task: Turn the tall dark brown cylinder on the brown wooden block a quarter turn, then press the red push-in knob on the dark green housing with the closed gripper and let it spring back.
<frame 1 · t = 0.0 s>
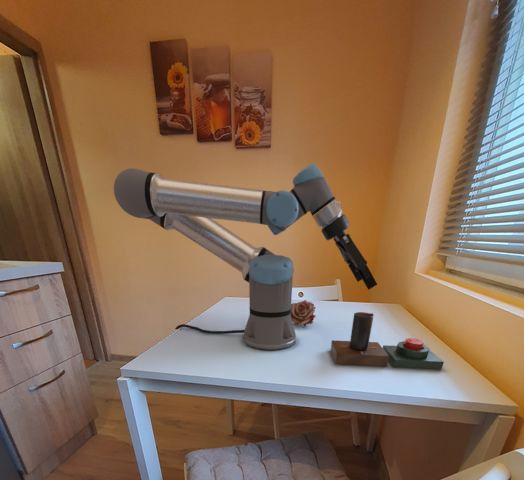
hand: (366, 283, 86), 15 cm above the table, tool tilted 35°, fingers open, 13 cm apart
flower: (301, 325, 96), on the table
dark brown cylinder: (361, 330, 68), point 7 cm above the table, hinge at 0.0°
brown wooden block: (356, 358, 71), on the table
housing: (409, 361, 70), on the table
button: (413, 344, 68), point 4 cm above the table, slide at 0.1 cm
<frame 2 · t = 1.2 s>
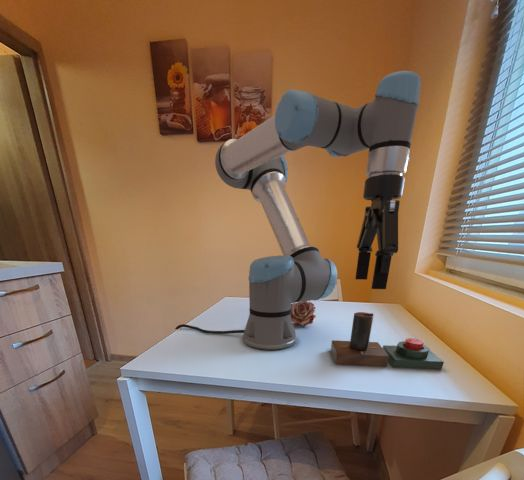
hand: (368, 283, 64), 19 cm above the table, tool pointing down, fingers open, 13 cm apart
nothing on the table moved.
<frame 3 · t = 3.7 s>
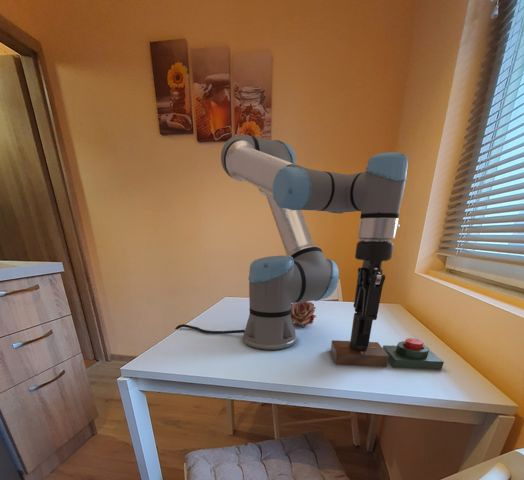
hand: (359, 341, 69), 5 cm above the table, tool pointing down, fingers closed on dark brown cylinder, 4 cm apart
dark brown cylinder: (361, 330, 68), point 7 cm above the table, hinge at 0.0°, touching gripper
everything else where it was.
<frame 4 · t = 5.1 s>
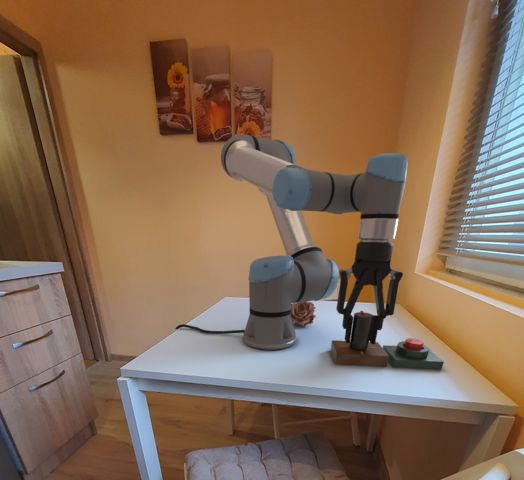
hand: (359, 341, 69), 5 cm above the table, tool pointing down, fingers open, 5 cm apart
dark brown cylinder: (361, 330, 68), point 7 cm above the table, hinge at 90.3°
everything else where it was.
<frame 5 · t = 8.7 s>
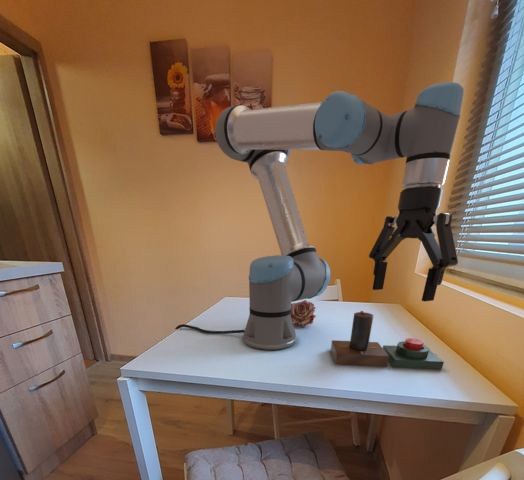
hand: (400, 294, 64), 17 cm above the table, tool pointing down, fingers open, 13 cm apart
nothing on the table moved.
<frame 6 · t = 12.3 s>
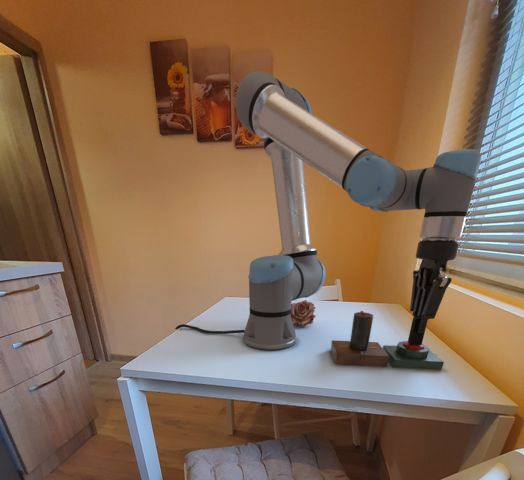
hand: (414, 343, 68), 5 cm above the table, tool pointing down, fingers closed
button: (412, 347, 68), point 4 cm above the table, slide at -0.7 cm, touching gripper
everything else where it was.
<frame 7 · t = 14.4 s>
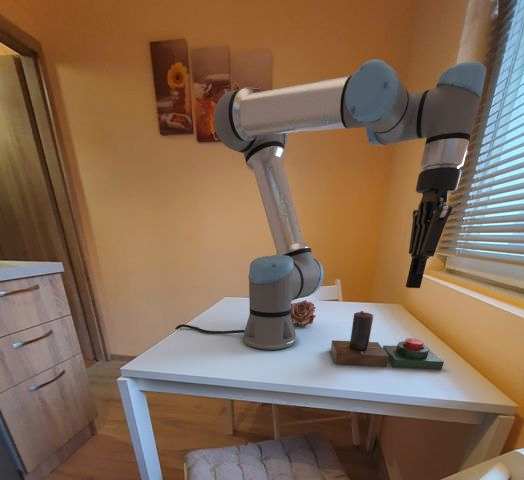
hand: (412, 287, 65), 18 cm above the table, tool pointing down, fingers closed
button: (413, 344, 68), point 4 cm above the table, slide at 0.1 cm
everything else where it was.
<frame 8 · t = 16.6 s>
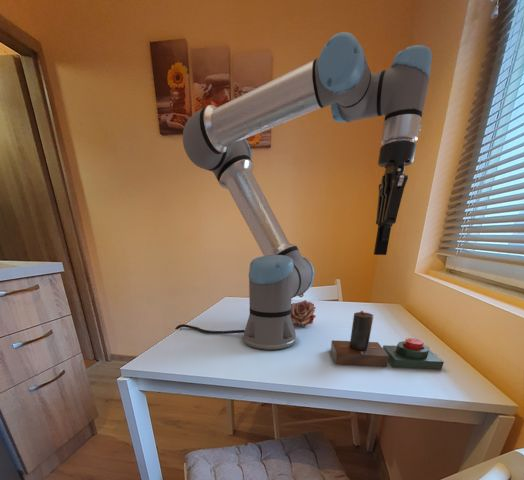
hand: (379, 254, 72), 24 cm above the table, tool pointing down, fingers closed
nothing on the table moved.
at the end: dark brown cylinder at +90° (first picture: +0°); button pushed in 1.0 cm at the most during the clip, back to where it started at the end; button slide at 0.1 cm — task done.
